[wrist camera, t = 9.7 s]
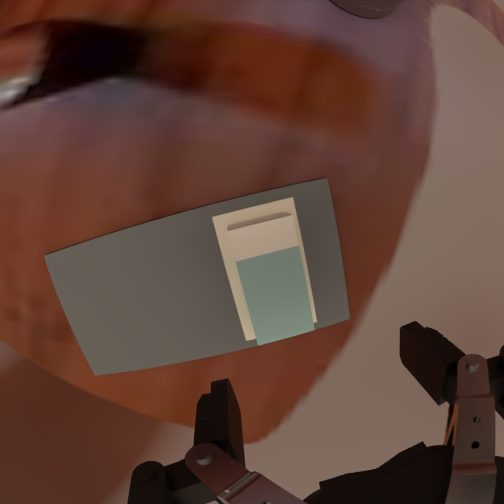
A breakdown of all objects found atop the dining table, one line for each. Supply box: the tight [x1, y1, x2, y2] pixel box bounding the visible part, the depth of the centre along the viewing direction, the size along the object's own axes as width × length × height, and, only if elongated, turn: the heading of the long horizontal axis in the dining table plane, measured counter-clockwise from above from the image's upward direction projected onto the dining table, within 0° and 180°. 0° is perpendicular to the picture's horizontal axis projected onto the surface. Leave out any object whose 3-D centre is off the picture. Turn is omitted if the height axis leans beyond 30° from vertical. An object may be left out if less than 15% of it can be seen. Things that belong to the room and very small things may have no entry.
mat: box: [44, 178, 350, 376], centre depth 27 cm, size 14×28×1 cm, turn 103°
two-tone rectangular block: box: [227, 211, 315, 346], centre depth 25 cm, size 5×10×3 cm, turn 13°
